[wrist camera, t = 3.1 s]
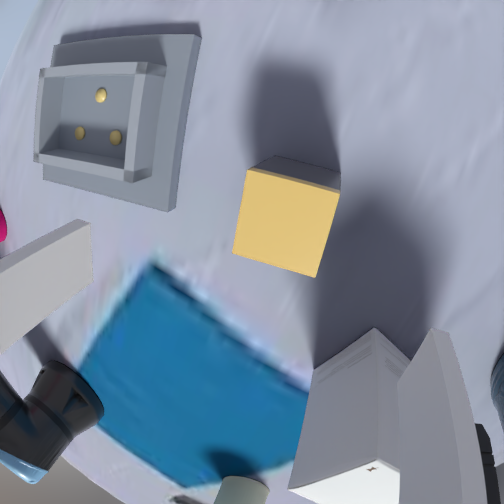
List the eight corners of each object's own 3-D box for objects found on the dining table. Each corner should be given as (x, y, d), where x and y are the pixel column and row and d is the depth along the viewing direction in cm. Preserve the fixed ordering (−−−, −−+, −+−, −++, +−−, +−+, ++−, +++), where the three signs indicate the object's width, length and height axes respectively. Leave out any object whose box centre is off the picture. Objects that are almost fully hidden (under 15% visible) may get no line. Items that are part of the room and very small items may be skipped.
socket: (175, 208, 30) (150, 222, 26) (51, 176, 33) (24, 185, 29) (201, 38, 23) (177, 26, 19) (63, 46, 26) (34, 44, 22)
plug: (323, 234, 27) (315, 277, 20) (261, 217, 28) (232, 253, 21) (340, 172, 25) (340, 194, 18) (274, 155, 26) (247, 169, 18)
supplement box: (310, 369, 33) (281, 490, 20) (374, 324, 29) (377, 457, 16) (361, 408, 34) (351, 520, 20) (423, 371, 29) (438, 491, 16)
